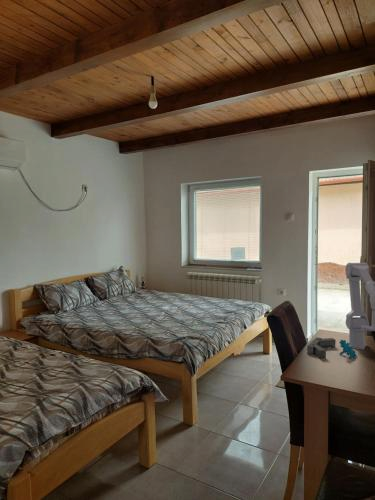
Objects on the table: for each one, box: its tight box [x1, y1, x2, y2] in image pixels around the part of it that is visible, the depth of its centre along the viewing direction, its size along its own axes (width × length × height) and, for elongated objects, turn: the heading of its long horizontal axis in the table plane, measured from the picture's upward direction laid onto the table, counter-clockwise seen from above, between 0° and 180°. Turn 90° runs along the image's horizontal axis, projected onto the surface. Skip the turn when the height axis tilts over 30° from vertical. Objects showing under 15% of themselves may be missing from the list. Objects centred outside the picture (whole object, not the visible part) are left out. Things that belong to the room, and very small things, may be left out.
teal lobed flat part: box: [338, 339, 358, 359], centre depth 172 cm, size 11×6×10 cm
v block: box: [306, 336, 337, 360], centre depth 179 cm, size 23×9×4 cm, turn 144°
